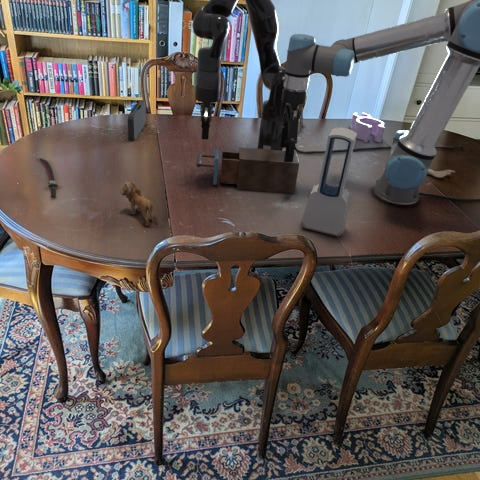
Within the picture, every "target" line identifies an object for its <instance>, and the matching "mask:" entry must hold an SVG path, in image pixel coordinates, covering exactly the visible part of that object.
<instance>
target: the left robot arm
mask: <svg viewBox="0 0 480 480" xmlns="http://www.w3.org/2000/svg"><path fill="white" fill-rule="evenodd" d="M239 2H240V0H208V1H207V2H205V4H204V5H203V6H202V7H200V8H199V10H198V11H197V12H196V14H195V15H194V17H193V20H192V23H191V25H192V30H193V31H192V32H193V34H194V35H195V36H196V37H198V38H200V39H205V40H210V41H212V44H211V45H210V46H204V47H203V46H202V47H200V48H199V49H198V51H197V59H196V61H197V63H196V73H195V89H194V90H195V91H194V92H195V93H194V99H195V100H196V101H198V102H199V103H200V107H199V113H200V122H201V125H200V127H201V139H202V140H209V138H210V128H211V123H212V119H213V112H214V105H213V104H216V103H217V102H219V101H220V96H221V94H220V93H221V80H222V78H221V75H222V74H221V67H222V55H223V51H224V48H225V45H226V42H227V39H228V37H229V33H230V21H229V19H228V18H229V17H231V15H232V14H233V13H234V11H235V9H236V7H237V5H238V4H239ZM244 2H245V6H246V10H247V15H248V21H249V23H250V28H251V32H252V35H253V39H254V43H255V48H256V51H257V55H258V61H259V69H260V77H261V82H262V85H263V86H264V87H265V88H266V89H267V90H269V97H268V99H265V100H263V102H262V105H261V114H260V123H259V131H258V138H257V139H258V140H257V148H256V149H267V150H280V151H284V150H283V149H286V146H280V141H281V134H282V127H283V125H282V124H283V123H282V120H283V115H284V111H285V106H286V103H285V102H283V101H282V92H283V89H284V88H285V87H284V80H282V78H283V77H285V71H286V67H284V66H282V65H281V62H280V59H279V55H278V50H277V47H278V46H277V45H278V38H279V34H280V33H279V32H280V25H279V20H278V14H277V10H276V7H275V4H274V3H273V1H272V0H244ZM458 146H460V144H458ZM391 147H392V145H389V146H388V145H387V146H372V147H371V146H370V147H358V148H357V147H356V148H353V152H359V151H372V150H384V149H385V150H386V149H391ZM457 148H458V147H453V146H443V147H435V149H444V150H445V149H446V150H447V149H449V150H451V149H457ZM459 148H460V149H461V150H464V146H462V147H459ZM325 151H326V150H311V151H302V150H299V149H298V148H297V146H296V145H295V150H294V152H296V153H298V154H305V155H310V154H325ZM344 152H345V153H346V152H347V148H345V149H333V150H332V153H344Z"/></svg>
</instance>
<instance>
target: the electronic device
mask: <svg viewBox="0 0 480 480" xmlns="http://www.w3.org/2000/svg"><path fill="white" fill-rule="evenodd" d="M356 135H357V133H356V132H354V131H353V130H351V129H350V128H346V127H333V128H332V129H331V131H330V133H329V135H328V137H327V142H326V146H325V150H324V151H325V153H324V157H323V161H322V167H321V171H320V176H319V181H318V183H317V184H315V185H313V187H312V189H311V191H310V194H309V196H308V200H307V202H306V205H305V209H304V212H303V216H302V218H301V221H300V224H301V226H302V228H303V229H306V230H309V231H314V232H318V233H322V234H325V235H329V236H332V237H333V236H334V237H339V236H342V235H343V233H344V230H345V227H346V222H347V215H348V209H349V208H348V207H349V199H350V193H349V191H348V190H347V189H346V188H345V186H346V182H347V181H346V180H347V178H348V173H349V169H350V165H351V160H352V156H353V152H354V151H353V149H355V148H354V147H355V144H356V140H357V138H356ZM335 140H342V141H345V142H347V143H348V144H347V147H346V149H347V151H346V152H345V156H344V157H345V158H344V161H343V165H342V170H341V174H340V179H339V182H338V186H336V185H335V186H334V185H330V184H328V183H327V178H328V173H329V169H330V164H331V159H332V155H333V152H332V150H334V145H335Z"/></svg>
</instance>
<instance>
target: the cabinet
mask: <svg viewBox="0 0 480 480" xmlns="http://www.w3.org/2000/svg"><path fill="white" fill-rule="evenodd" d="M285 151H286V150H282V151H280V150H267V149H257V148H253V147H238V152H239V169H238V179H237V184H235V185H236V190H240V191H253V192H268V193H269V192H270V193H282V194H295V193H296V192H295V191H296V186H297V181H298V174H299V169H300V161H299V158H298V154H297V152H296V151H294V157H293V162H284V158H285Z"/></svg>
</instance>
